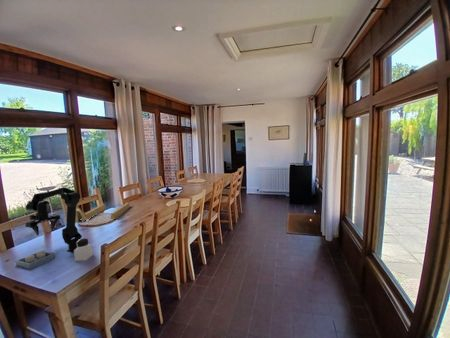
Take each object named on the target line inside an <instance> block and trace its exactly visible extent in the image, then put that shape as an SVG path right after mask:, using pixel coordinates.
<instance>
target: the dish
mask: <svg viewBox="0 0 450 338" xmlns="http://www.w3.org/2000/svg"><path fill="white" fill-rule="evenodd" d="M36 253H37V252H35V253H31V255H35V262H32V263H26V262H25V257H26V256H24V257H22V258H19V259H17V260H15V266H16V267H20V268H24V269H27V270H32V269H34V268H35V267H38V266H40V265H43V264H44V263H45V264H46V262H49V261H51V260H53V259H55V257H56V256H55V253H52V252H47V251H45V254H46V257H44V258H42V259H39V260H37V257H36Z"/></svg>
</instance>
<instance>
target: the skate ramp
mask: <svg viewBox="0 0 450 338" xmlns="http://www.w3.org/2000/svg"><path fill="white" fill-rule="evenodd" d="M102 203H103V204H102ZM102 203H100V204H99V205H96V206H95V207H93V208H91V209H90V208H89V209H88V211H86V212H85V211H83V210H82V209H81V208H76V220H75V223H79V221H85V220H87V219H89V218H90V217H92V216H93V215H95V214H100V213H102V212H103V211H105V210H106V209H107V207H106V204H105V202H102ZM129 208H130V202H126V203H124V204H123V205H121V206H120V207H118V208H117V209H115V210H113V212H110V219H115V220H116V219H118V218H119V217H120V216H122V215H123V213H124V212H126V211H127V210H128V209H129ZM80 219H82V220H80ZM110 219H109V220H110Z"/></svg>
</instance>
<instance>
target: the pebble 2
mask: <svg viewBox="0 0 450 338" xmlns="http://www.w3.org/2000/svg"><path fill="white" fill-rule="evenodd" d="M45 252H46V250H40V251H37V252H35V253H36V260H39V259H42V258H44V257H46V254H45Z"/></svg>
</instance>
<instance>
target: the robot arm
mask: <svg viewBox="0 0 450 338" xmlns="http://www.w3.org/2000/svg"><path fill="white" fill-rule="evenodd" d="M57 195H59V196H60V198H61V199H62V200H64V204H65V206H66V223H65V224H66V225H65V227H64V228H63V229H62V230H61V236H62V239H63V241H64V243H65V244H66V245H67V247H68V249H66V251H67V252H70V253H74V250H75V249H76V248H77V241H78V240H80V239H83V238H82V237H83V235H82V234H81V233H80V232H79V231H78V228H77V226H76V222H75V220H76V209H77V205H78V203H79V202H80V198H81V195H80V193H79V192H77V191H75V190H73V189H69V188H68V187H59V188H56V189H54V190H51V191H43V192H38V193H34V194H33V196H32V199H31V200H29V201H28V202H27V203H26V205H25V209H26V211H28V212H32V211H33V212H35V211H36V213H35V214H31V215H29V220H30V221H27V222H26V223H25V225H24V226H25V228H30V229H32V230H33V231H34V233H35V235H36V236H39V235H40V230H39V224H41V223H45V222H50V228H51V231H54V229H55V227H56V225H57V223H58V221H59V220H60V219H61V215H60V214H53V215H50V216H49V214H50V211H49V208H48V205H49V204H50V202H49V201H48V200H49V199H50V198H52V197H56V196H57Z"/></svg>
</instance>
